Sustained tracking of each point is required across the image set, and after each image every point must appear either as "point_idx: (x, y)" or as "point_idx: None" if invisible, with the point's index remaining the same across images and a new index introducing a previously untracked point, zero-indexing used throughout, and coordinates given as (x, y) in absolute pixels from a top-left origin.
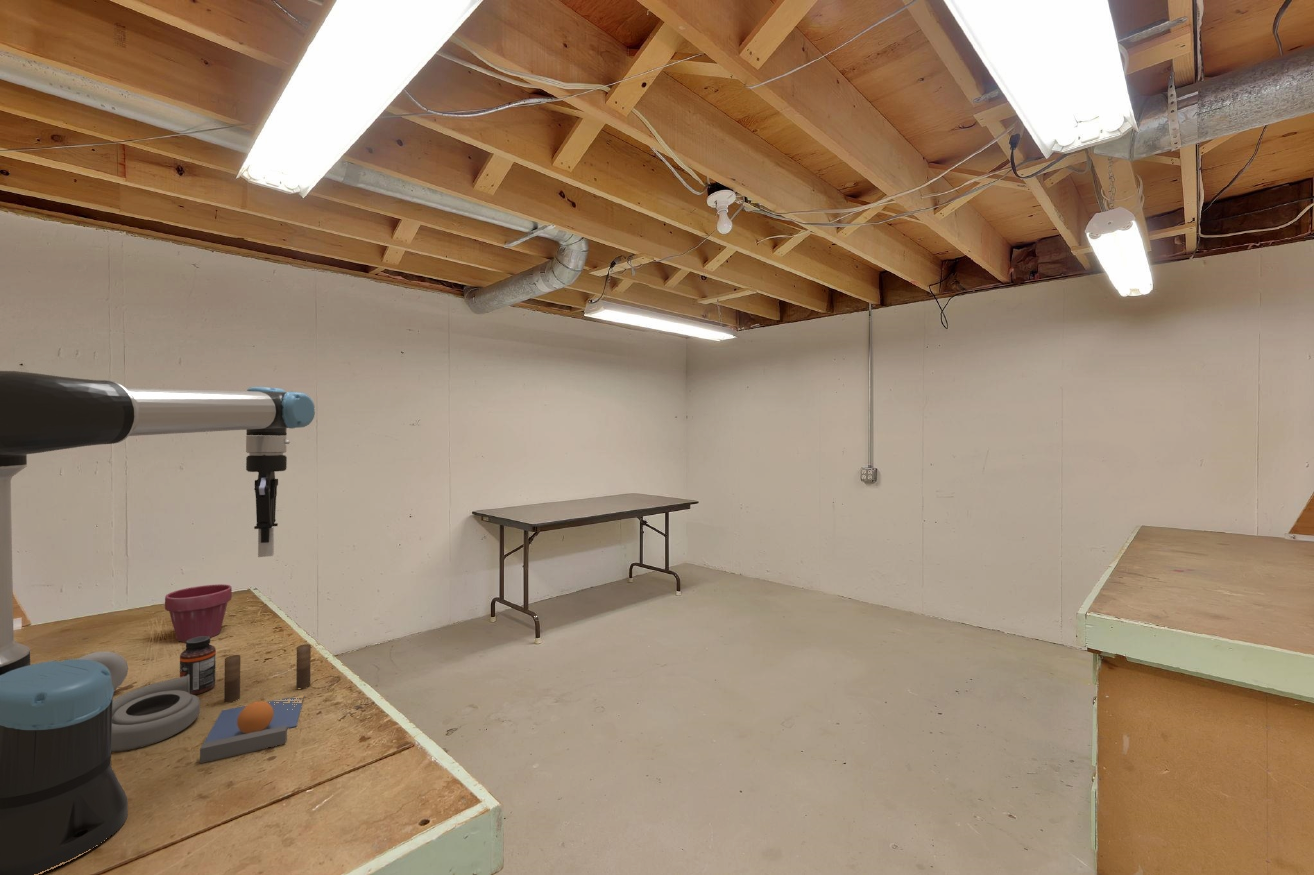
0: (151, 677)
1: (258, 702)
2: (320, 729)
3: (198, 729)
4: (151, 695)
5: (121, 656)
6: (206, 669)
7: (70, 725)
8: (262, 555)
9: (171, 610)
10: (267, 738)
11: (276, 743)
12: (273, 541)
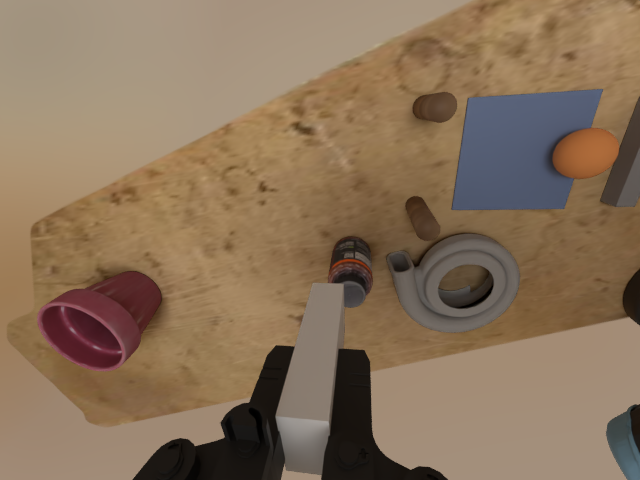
0: (280, 305)
1: (603, 154)
2: None
3: (496, 224)
4: (434, 296)
5: None
6: (366, 256)
7: None
8: (344, 319)
9: (137, 347)
10: None
11: None
12: (309, 330)
